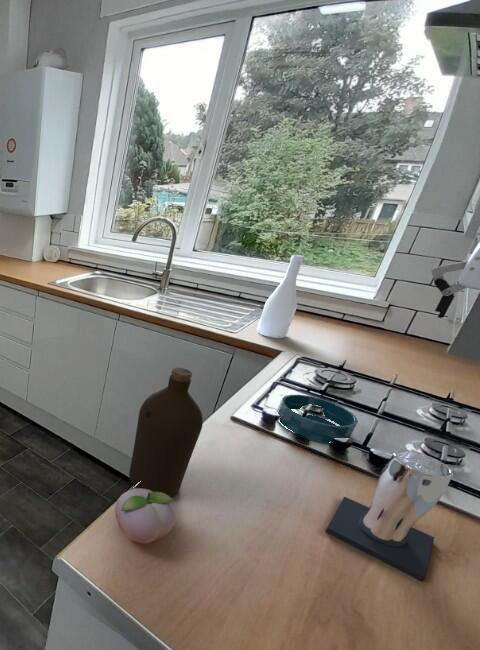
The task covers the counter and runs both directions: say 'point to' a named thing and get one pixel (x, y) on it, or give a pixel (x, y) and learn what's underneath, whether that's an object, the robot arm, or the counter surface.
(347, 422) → the pan
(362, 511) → the mat
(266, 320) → the wine bottle
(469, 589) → the counter surface
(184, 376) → the olive oil
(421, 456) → the beer glass
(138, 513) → the decorative fruit
